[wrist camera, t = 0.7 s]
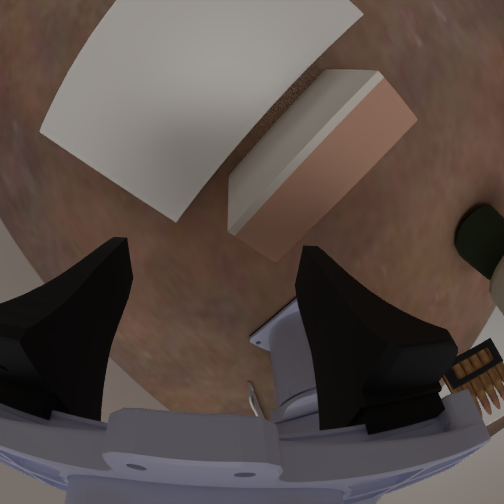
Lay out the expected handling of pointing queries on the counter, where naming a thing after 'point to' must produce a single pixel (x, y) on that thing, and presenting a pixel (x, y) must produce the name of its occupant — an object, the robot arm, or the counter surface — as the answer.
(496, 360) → the ammunition clip
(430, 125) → the counter surface
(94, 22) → the counter surface
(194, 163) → the board
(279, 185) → the tile
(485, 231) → the character mug
